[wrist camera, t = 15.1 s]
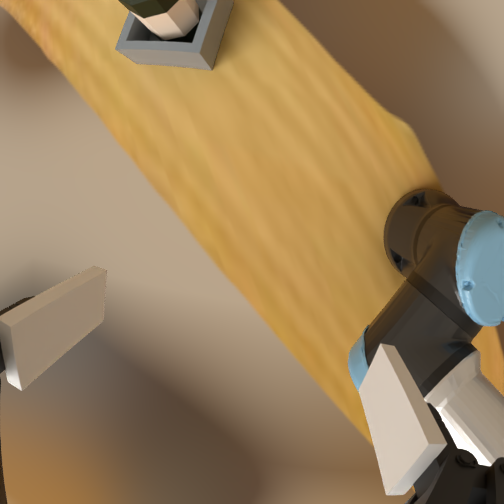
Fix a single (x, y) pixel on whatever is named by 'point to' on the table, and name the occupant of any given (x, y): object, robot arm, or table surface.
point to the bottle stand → (177, 53)
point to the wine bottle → (167, 18)
